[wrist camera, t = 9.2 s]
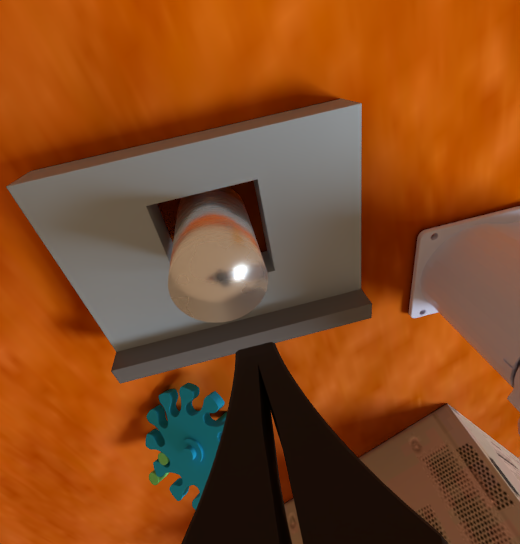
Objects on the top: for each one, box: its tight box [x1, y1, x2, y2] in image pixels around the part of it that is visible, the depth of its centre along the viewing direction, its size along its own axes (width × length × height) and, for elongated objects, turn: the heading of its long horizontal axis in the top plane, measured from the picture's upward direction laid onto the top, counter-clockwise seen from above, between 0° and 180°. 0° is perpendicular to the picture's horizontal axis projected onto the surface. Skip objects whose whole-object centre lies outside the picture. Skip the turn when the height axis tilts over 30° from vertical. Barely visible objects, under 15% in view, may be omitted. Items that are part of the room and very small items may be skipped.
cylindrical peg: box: [168, 187, 268, 323], centre depth 16 cm, size 4×4×7 cm
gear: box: [146, 383, 227, 510], centre depth 27 cm, size 11×6×10 cm
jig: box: [6, 99, 372, 383], centre depth 18 cm, size 16×12×4 cm
